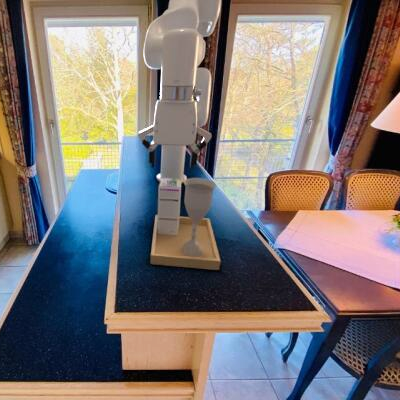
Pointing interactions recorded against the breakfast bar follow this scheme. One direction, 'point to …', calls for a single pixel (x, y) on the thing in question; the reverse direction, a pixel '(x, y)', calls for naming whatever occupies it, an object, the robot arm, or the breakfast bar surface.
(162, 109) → the robot arm
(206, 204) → the chalice
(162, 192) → the syrup box
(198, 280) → the breakfast bar surface
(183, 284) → the breakfast bar surface
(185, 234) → the tray
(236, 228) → the breakfast bar surface
